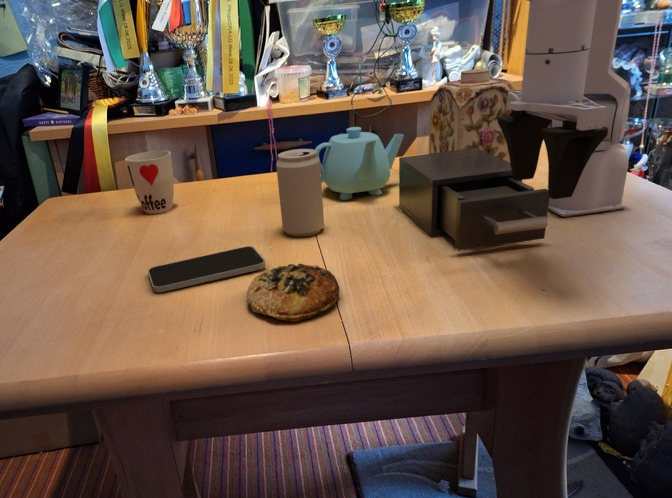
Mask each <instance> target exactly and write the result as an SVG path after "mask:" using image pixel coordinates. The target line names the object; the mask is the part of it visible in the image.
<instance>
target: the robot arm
mask: <svg viewBox="0 0 672 498" xmlns="http://www.w3.org/2000/svg"><path fill="white" fill-rule="evenodd" d="M526 1H528V2H529V5H528V17H527V27H526V35H525V37H526V38H525V45H524V46H525V48H524V58H523V59H524V60H523V70H522V81H521V89H520V90H517V91H514V92H508V94H507V106H506V110H509V111H512V113H510V115H507V116H500V117H498V124H499V126H500V128H501V130H502V132H503V135H504V137H505V140H506V143H507V147H508V152H509V157H510V164H511V170H512V176H513V179H514V180H516V181H518V180H522V181H525V180H533V179H534V177H535V174H536V171H537V168H538V163H539V158H540V154H541V148H542V145H543V143H544V145H545V150H546V155H547V165H548V169H547V172H548V174H547V177H548V178H547V190H548V192H549V197H550V198H549V206H548V211H551V212H552V213H554V214H556V215H558V216H560V217H563V218H564V217H572V216H579V215H586V214H593V213H594V214H595V213H601V212H602V213H603V212H608V211H615V210H624V209H625V208H626V205H625V204H623V203H622V202H623V196H624V192H625V191H624V190H625V187H626V180H627V175H628V169H629V156H628V152H627V149H626V148H625V146H623V145H622V144H620V142H622V141H623V140H624V139H623V138H624V136H625V131H626V127H627V123H628V117H629V112H630V99H631V92H632V89H631V88H630V84H629V82H628V81H626V80H625V79H624V78H622V77H621V76H620V75H618V74H617V73H616V72H614V70H612V68H613V61H614V54H615V50H616V44H617V38H618V31H619V25H620V20H621V14H622V9H623V2H624V0H526ZM584 95H611V96H606V97H605V96H603V97H601V96H600V97H598V96H597V97H586V96H584Z"/></svg>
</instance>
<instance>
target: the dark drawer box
mask: <svg viewBox="0 0 672 498" xmlns="http://www.w3.org/2000/svg"><path fill="white" fill-rule="evenodd" d="M502 186H507V187H509V188H511V189H513V190H515V191H517V192H516V193H508V194H501V195H493V196H486V197H478V198H471V199H464V197H462V196H461V195H459V194H458V193H457V192H464V191H472V190H479V189H487V188H495V187H502ZM549 198H550V197H549V192H548V188H539V189H535V188H534V187H533V186H530V185H529V184H527V183H525V182H523V181H522V182H521V181H519V180H518V181H516V180H514V179H513V177H511V176H505V177H497V178H489V179H482V180H474V181H466V182H459V183H451V184H444V185H438V202H437V225H438V226H439V227H441V228H442V229H443V230H444V231H445V232H446V233H448V235H449V236H450V237H451V238H452V239H453V240H454V249H456V250H457V251H464V250H465V251H466V250H470V249H478V248H479V249H480V248H486V247H494V246H500V245H508V244H514V243H522V242H529V241H537V240H543V239H545V237H546V229H547V227H548V225H549V220H548V213H549V209H548V206H549Z"/></svg>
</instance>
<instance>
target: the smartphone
mask: <svg viewBox="0 0 672 498" xmlns="http://www.w3.org/2000/svg"><path fill="white" fill-rule="evenodd" d="M265 262H266V261H265V259H264V258H263V256H262V255H261V254H260V253H259V252H258V251H257V249H256V248H255V247H253V246H249V245H247V246H241V247H238V248H237V247H236V248H233V249H228V250H224V251H220V252H215V253H210V254H205V255H201V256H197V257H192V258H187V259H183V260H179V261H174V262H173V261H172V262H169V263H165V264H161V265H160V264H159V265H155V266H152V267H150V268H148V270H147V272H148V277H149V280H150V282H151V287H152V290H153V291H154V292H155V293H164V292H169V291H174V290H177V289H182V288H185V287H186V288H187V287H190V286H195V285H200V284H203V283H208V282H213V281H216V280H220V279H225V278H229V277H235V276H237V275H242V274H247V273H251V272H256V271H259V270H262V269H264V268H265V267H266V263H265Z"/></svg>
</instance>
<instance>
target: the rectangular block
mask: <svg viewBox="0 0 672 498" xmlns="http://www.w3.org/2000/svg"><path fill="white" fill-rule="evenodd" d="M516 192H517V191H515V190H513V189H511V188H509V187H507V186H502V187H495V188H487V189H479V190H472V191H464V192H457V193H458V194H459V195H461V196H462V197H464V199H471V198H478V197H486V196H493V195H501V194H508V193H516Z"/></svg>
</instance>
